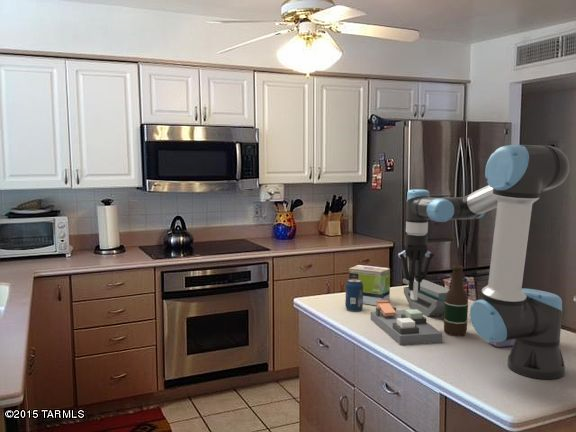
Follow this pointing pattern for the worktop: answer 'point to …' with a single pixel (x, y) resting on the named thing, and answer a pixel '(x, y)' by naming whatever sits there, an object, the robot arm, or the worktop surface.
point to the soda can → (354, 295)
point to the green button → (413, 314)
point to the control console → (406, 335)
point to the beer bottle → (456, 305)
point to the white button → (405, 323)
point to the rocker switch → (386, 308)
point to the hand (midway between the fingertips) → (413, 299)
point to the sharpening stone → (427, 298)
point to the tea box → (372, 282)
